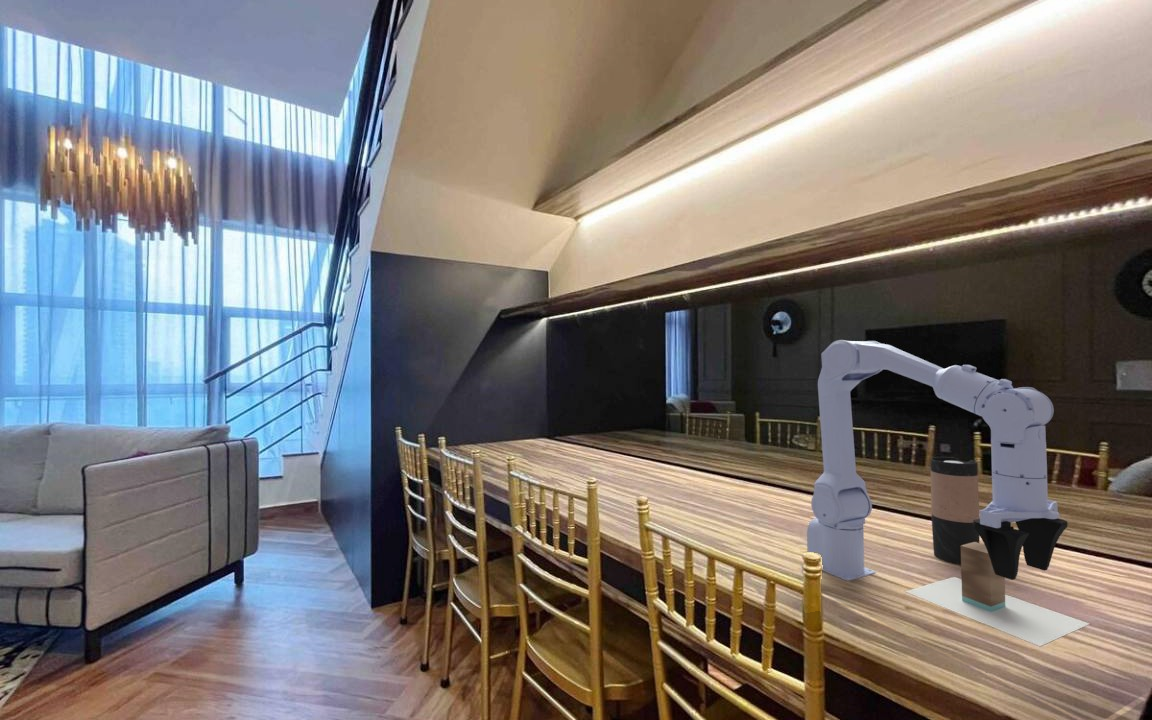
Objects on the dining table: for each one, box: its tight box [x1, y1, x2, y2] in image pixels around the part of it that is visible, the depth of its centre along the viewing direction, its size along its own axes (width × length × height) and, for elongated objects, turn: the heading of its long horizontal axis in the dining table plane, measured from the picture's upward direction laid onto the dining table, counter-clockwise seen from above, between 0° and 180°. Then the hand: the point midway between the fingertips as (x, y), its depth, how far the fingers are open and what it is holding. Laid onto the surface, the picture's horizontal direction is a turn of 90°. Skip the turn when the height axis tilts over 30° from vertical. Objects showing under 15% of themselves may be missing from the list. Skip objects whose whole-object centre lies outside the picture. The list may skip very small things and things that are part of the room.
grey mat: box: [904, 576, 1090, 647], centre depth 77 cm, size 18×14×1 cm
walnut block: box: [960, 542, 1006, 612], centre depth 78 cm, size 4×4×9 cm
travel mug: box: [930, 456, 981, 566], centre depth 97 cm, size 8×8×20 cm
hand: (1021, 572), depth 67 cm, fingers open, 7 cm apart
